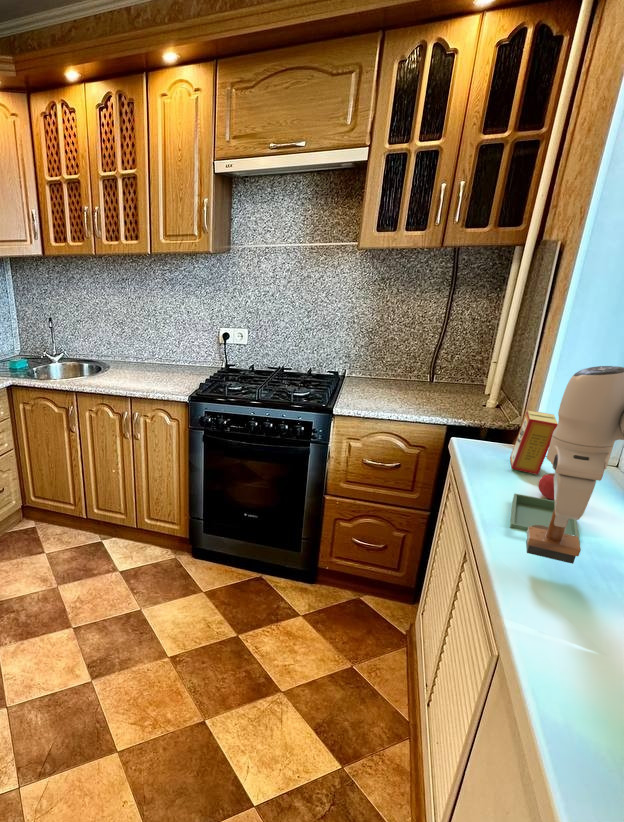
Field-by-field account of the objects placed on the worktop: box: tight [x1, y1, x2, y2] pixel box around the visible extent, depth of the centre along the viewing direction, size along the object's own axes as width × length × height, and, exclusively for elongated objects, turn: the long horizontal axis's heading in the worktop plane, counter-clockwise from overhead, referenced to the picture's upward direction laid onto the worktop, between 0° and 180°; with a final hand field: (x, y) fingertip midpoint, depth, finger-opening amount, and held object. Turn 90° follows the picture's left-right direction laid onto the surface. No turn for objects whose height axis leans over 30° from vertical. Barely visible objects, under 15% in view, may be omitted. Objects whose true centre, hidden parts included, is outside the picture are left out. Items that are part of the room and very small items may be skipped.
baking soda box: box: [509, 409, 558, 475], centre depth 153 cm, size 10×6×16 cm
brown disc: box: [532, 525, 548, 530], centre depth 119 cm, size 4×4×1 cm
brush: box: [525, 508, 581, 565], centre depth 102 cm, size 8×5×11 cm, turn 58°
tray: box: [509, 493, 580, 540], centre depth 124 cm, size 19×12×3 cm, turn 145°
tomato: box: [537, 472, 555, 501], centre depth 135 cm, size 8×8×8 cm
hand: (558, 521), depth 101 cm, fingers closed on brush, 3 cm apart
